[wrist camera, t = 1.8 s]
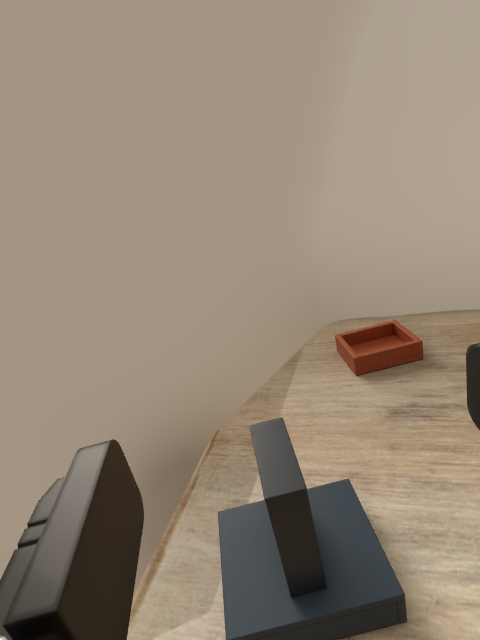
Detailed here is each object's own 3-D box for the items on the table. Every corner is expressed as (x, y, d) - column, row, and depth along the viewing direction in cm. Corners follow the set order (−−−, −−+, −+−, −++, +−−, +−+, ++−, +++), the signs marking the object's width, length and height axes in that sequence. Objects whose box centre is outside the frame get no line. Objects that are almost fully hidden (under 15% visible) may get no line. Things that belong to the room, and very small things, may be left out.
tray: (355, 375, 46) (353, 358, 45) (337, 350, 52) (334, 334, 51) (423, 358, 46) (422, 341, 45) (396, 336, 52) (395, 319, 51)
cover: (235, 666, 22) (186, 542, 18) (225, 534, 30) (189, 427, 26) (407, 621, 22) (395, 488, 18) (352, 501, 30) (335, 391, 26)
